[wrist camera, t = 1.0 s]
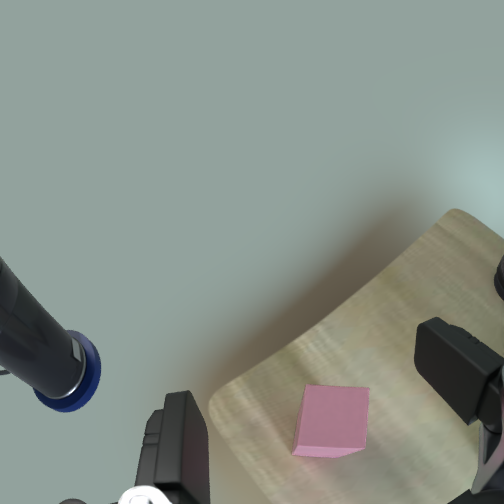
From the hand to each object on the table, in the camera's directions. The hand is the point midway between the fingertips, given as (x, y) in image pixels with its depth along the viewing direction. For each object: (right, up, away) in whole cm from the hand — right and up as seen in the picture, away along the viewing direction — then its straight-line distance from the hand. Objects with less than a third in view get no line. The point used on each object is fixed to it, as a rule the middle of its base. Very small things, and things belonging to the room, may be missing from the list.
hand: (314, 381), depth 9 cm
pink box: (+4, -13, +15) cm, 20 cm away
